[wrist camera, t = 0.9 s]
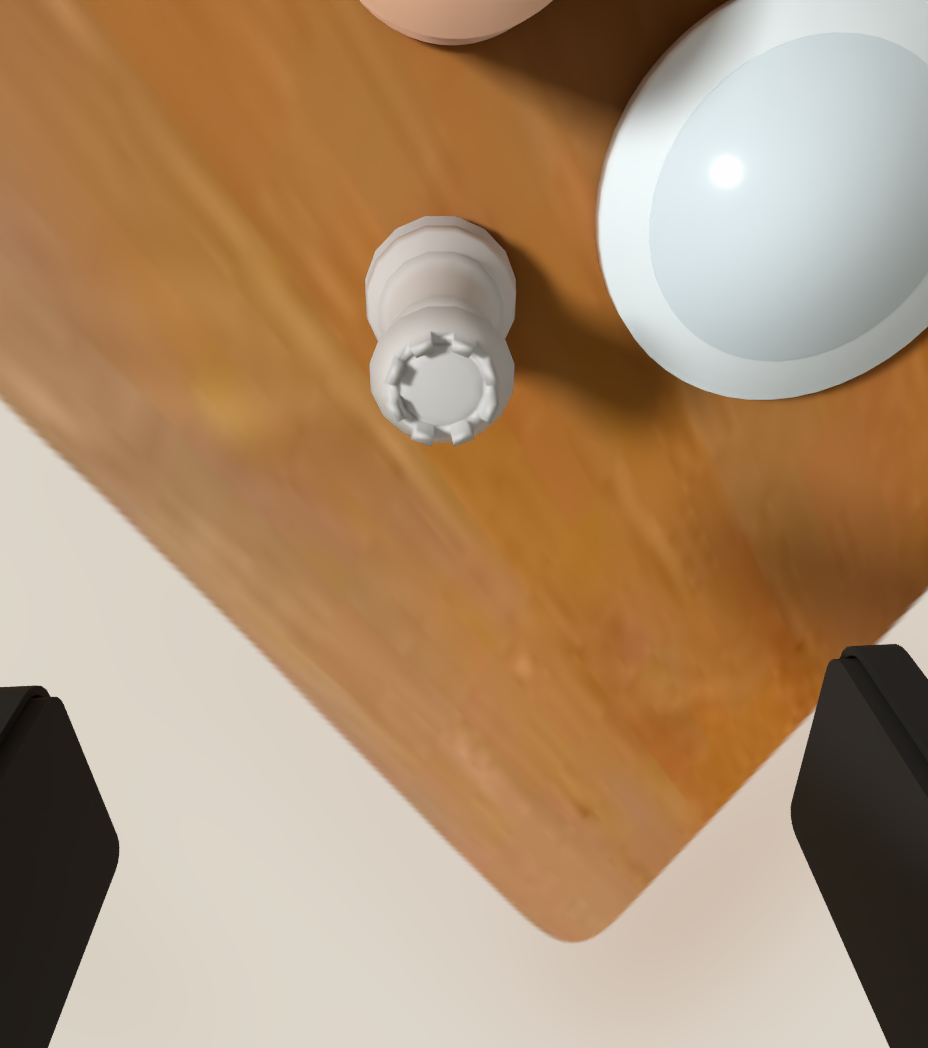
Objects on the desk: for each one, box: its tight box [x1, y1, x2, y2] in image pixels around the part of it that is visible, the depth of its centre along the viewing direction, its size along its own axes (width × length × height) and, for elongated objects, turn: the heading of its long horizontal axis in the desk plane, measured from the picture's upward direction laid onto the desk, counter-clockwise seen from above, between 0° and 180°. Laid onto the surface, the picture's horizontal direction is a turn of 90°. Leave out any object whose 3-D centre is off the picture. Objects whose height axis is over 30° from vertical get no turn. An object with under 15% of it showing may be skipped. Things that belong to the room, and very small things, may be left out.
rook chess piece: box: [365, 216, 516, 447], centre depth 21 cm, size 4×4×8 cm
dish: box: [595, 0, 928, 400], centre depth 22 cm, size 11×11×1 cm
